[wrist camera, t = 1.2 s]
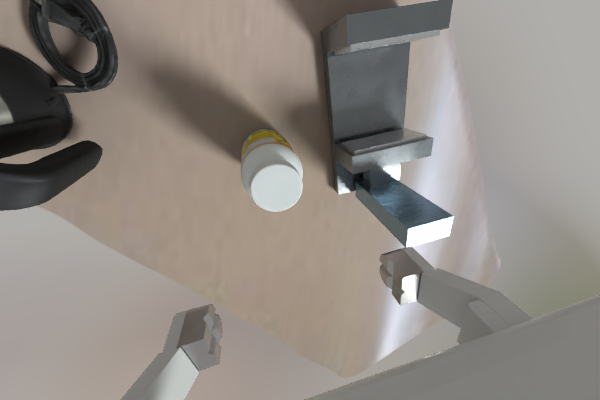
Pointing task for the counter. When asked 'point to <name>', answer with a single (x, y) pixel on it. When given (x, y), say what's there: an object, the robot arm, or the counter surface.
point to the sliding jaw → (394, 185)
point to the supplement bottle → (271, 171)
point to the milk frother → (49, 105)
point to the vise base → (373, 73)
